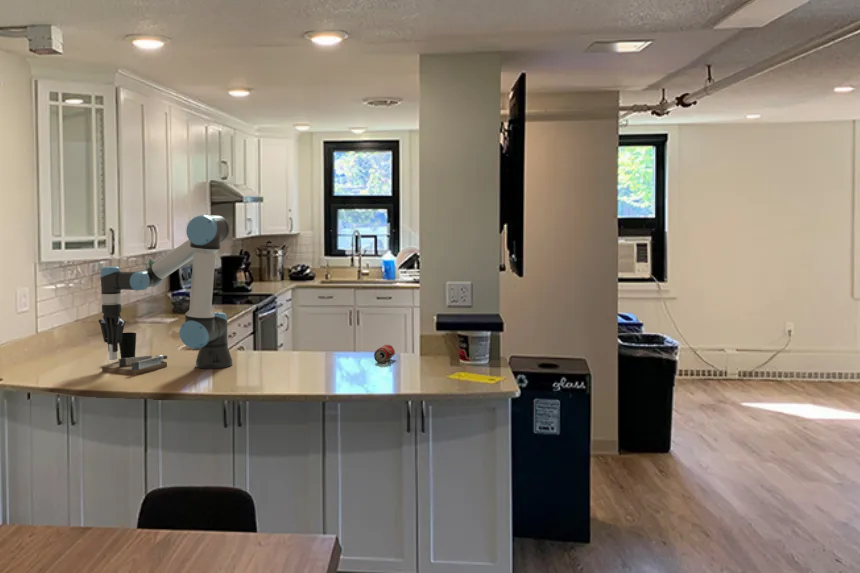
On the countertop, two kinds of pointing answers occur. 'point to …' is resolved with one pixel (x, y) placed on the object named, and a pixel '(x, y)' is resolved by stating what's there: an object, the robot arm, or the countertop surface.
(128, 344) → the cup
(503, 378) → the countertop surface
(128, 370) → the board
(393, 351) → the beverage can
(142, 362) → the tongs fixed
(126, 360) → the tong arm
